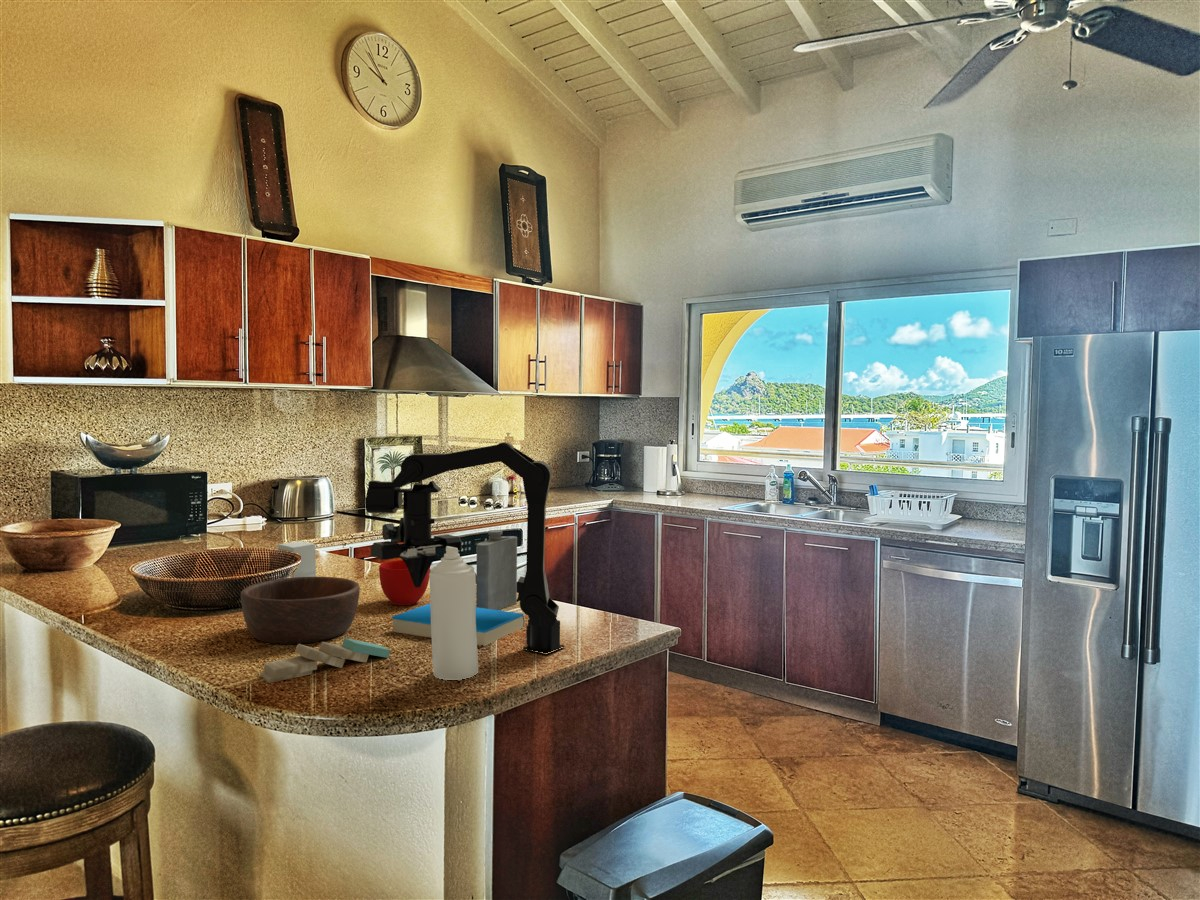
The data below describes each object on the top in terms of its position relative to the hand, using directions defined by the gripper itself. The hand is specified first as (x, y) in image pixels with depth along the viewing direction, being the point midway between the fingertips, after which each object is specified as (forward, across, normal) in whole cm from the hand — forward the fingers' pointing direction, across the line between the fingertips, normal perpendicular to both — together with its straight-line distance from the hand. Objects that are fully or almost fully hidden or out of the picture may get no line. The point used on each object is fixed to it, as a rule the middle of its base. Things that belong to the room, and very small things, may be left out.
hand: (417, 587), depth 171 cm
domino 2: (+13, +24, 0) cm, 27 cm away
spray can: (+13, +4, +21) cm, 25 cm away
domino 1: (+11, +23, 0) cm, 26 cm away
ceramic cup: (+13, -19, -39) cm, 45 cm away
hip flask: (+13, -32, -17) cm, 39 cm away
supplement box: (+13, -3, -70) cm, 72 cm away
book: (+14, -14, -6) cm, 21 cm away
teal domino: (+12, +8, 0) cm, 14 cm away
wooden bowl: (+13, +14, -27) cm, 33 cm away
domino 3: (+12, +18, 0) cm, 21 cm away
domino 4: (+12, +13, 0) cm, 18 cm away
